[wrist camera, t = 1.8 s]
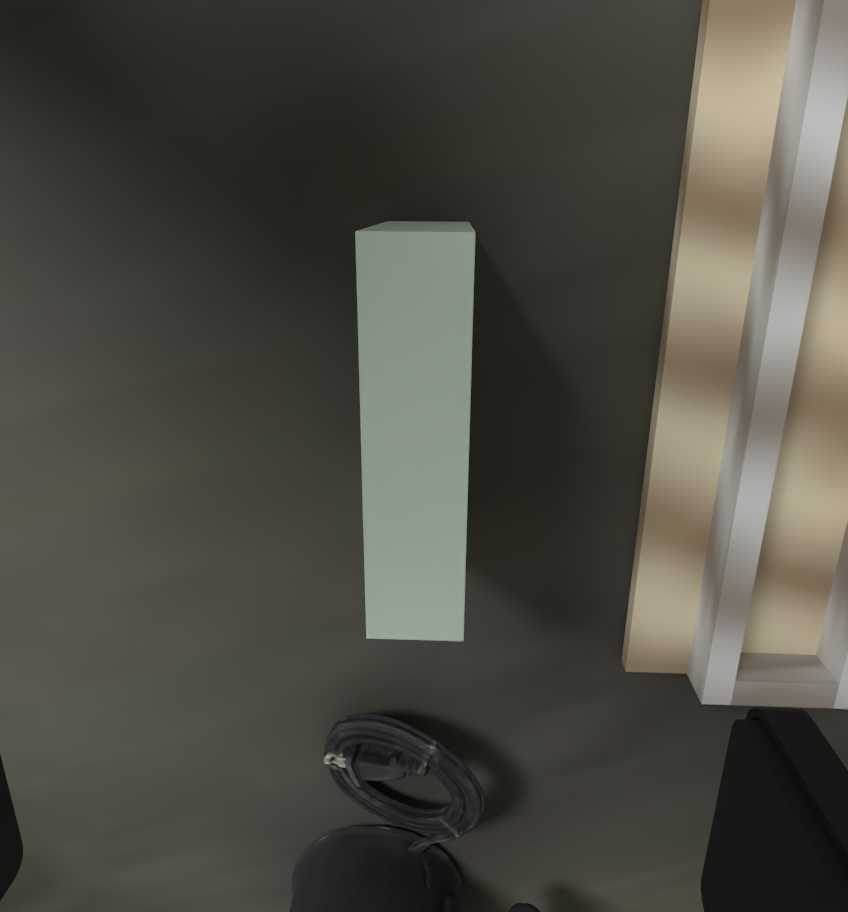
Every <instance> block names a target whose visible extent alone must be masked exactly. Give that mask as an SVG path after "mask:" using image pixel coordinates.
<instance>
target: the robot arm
mask: <svg viewBox="0 0 848 912" xmlns="http://www.w3.org/2000/svg"><path fill="white" fill-rule="evenodd" d="M22 857H23V844H22V840H21V836H20V832H19V828H18V824H17V820H16V816H15V812H14V808H13V804H12V800H11V796H10V792H9V788H8V784H7V780H6V776H5V772H4V768H3V764H2V760H1V755H0V901H1V899H2V898H3V896H4V894H5V893H6V891H7V890H8V888H9V887H10V885H11V884H12V882H13V881H14V879H15V877H16V875H17V873H18V871H19V868H20V865H21V861H22ZM701 894H702V902H703V907H704V911H705V912H848V770H847V769H846V768H845V766H844V765H843V763H842V762H841V760H840V759H839V757H838V756H837V754H836V753H835V751H834V750H833V749H832V747H831V746H830V744H829V743H828V741H827V740H826V738H825V737H824V735H823V734H822V733H821V731H820V730H819V728H818V727H817V725H816V724H815V722H814V721H813V719H812V718H811V717H810V716H809V715H808V714H807V712H805V711H803V710H801V709H783V708H758V707H755V708H751V709H750V711H749V712H748V713H747V717H746V720H743V719H738V720H736V721H735V722H734V723H733V726H732V729H731V734H730V739H729V744H728V749H727V754H726V759H725V764H724V769H723V774H722V779H721V784H720V789H719V794H718V798H717V803H716V808H715V813H714V818H713V823H712V828H711V833H710V838H709V843H708V848H707V853H706V858H705V863H704V868H703V873H702V878H701Z"/></svg>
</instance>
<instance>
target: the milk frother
mask: <svg viewBox="0 0 848 912" xmlns="http://www.w3.org/2000/svg"><path fill="white" fill-rule="evenodd" d="M324 756H325V758H324V763H325V764H326V765H327V766H328V768H329V770H330V774H331V775H332V777H333V779H334V781H335V782H336V783H337V785H338V786H339V788H340V789H341V790H342V791H343V792H344V794H345V795H346V796H348V797H349V798H350V799H351V800H352V801H353V802H355V803H356V804H358V805H360V806H362V807H363V808H364V809H366V810H367V811H368V812H370V813H372V814H374V815H377V816H378V817H380V818H381V819H383V820H386V821H388V822H391V823H393V824H395V825H398V826H400V827H404V828H407V829H410V830H413V831H418V832H423V833H429V834H433V835H431V836H427V837H424V838H423V837H421V836H419V835H417V834H415V833H412V832H409V831H406V830H404V829H399V828H395V827H386V826H382V825H377V826H354V827H348V828H345V829H340V830H337V831H334V832H332V833H329V834H328V835H326V836H324V837H322V838H320V839H318V840H317V841H316V842H314V843H313V844H312V845H311V846H309V847H308V848H307V849H306V850H305V851H304V852H303V854H302V855H301V856H300V858H299V860H298V861H297V864H296V866H295V869H294V873H293V878H292V893H293V898H292V903H291V908H290V912H463V911H462V904H463V885H462V880H461V876H460V875H459V873H458V870H457V868H456V867H455V865H454V864H453V862H452V861H451V859H450V858H449V857H448V856H447V855H446V854H445V853H444V852H443V851H442V850H441V849H440V848H439V847H437V846H435V845H434V844H433V843H438V842H444V841H450V840H452V839H454V838H459V837H460V836H462V835H463V834H466V833H468V832H470V831H471V830H472V829H473V828H474V827H475V826H476V825H477V822H478V820H479V818H480V817H481V815H482V813H483V810H484V795H483V792H482V788H481V786H480V784H479V782H478V780H477V779H476V777H475V776H474V775H473V773H472V772H471V770H470V769H469V768H468V767H467V766H466V765H465V764H464V763H463V762H462V761H461V760H460V759H459V758H458V757H457V756H456V755H455V754H454V753H453V752H451V751H450V750H449V749H448V748H447V747H445V746H444V745H442V744H441V743H439V742H438V741H437V740H435V739H434V738H432V737H431V736H429V735H428V734H426V733H424V732H422V731H421V730H419V729H417V728H415V727H413V726H411V725H409V724H407V723H405V722H402V721H399V720H397V719H394V718H390V717H387V716H383V715H379V714H372V713H368V714H364V713H363V714H355V715H351V716H347V717H345V718H343V719H341V720H339V721H338V722H337V723H336V724H335V725H334V726H333V728H332V729H331V731H330V733H329V735H328V737H327V741H326V745H325V751H324ZM428 772H430V773H432V774H433V775H434V776H436V777H437V778H438V779H439V780H440V781H441V783H442V784H443V785H444V786H445V787H446V788H447V790H448V791H449V793H450V795H451V800H452V802H451V803H450V804H449V805H447V806H445V807H443V808H440V809H420V808H416V807H412V806H409V805H406V804H404V803H401V802H398V801H396V800H394V799H392V798H390V797H388V796H386V795H384V794H383V793H381V792H380V791H378V790H377V789H375V788H374V787H372V786H371V785H370V784H369V783H367V782H366V781H367V780H368V781H383V780H390V779H393V778H397V779H400V778H403V777H405V775H406V774H408V775H419V776H421V777H424V776H426V774H427V773H428ZM509 912H540V911H539V910H538V909H537V908H536V907H535V906H533V905H531V904H528V903H525V904H524V903H518V904H515V905H513V906H512V907H511V909H510V911H509Z"/></svg>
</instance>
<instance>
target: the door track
mask: <svg viewBox="0 0 848 912" xmlns="http://www.w3.org/2000/svg"><path fill="white" fill-rule="evenodd" d="M621 661H622V664H623V666H624V669H625V672H650V673H681V674H687V675H688V677H689V679H690V682H691V684H692V686H693V688H694V690H695V692H696V694H697V696H698V698H699V700H700V702H701V704H714V705H744V706H774V707H803V708H833V709H848V0H703V1H702V9H701V18H700V26H699V34H698V42H697V50H696V58H695V66H694V75H693V83H692V91H691V99H690V107H689V115H688V123H687V132H686V140H685V148H684V156H683V164H682V172H681V180H680V189H679V197H678V205H677V213H676V221H675V229H674V237H673V245H672V254H671V262H670V270H669V278H668V286H667V294H666V302H665V311H664V319H663V327H662V335H661V343H660V351H659V359H658V368H657V376H656V384H655V392H654V400H653V408H652V416H651V424H650V433H649V441H648V449H647V457H646V465H645V473H644V481H643V490H642V498H641V506H640V514H639V522H638V530H637V538H636V547H635V555H634V563H633V571H632V579H631V587H630V595H629V603H628V612H627V620H626V628H625V636H624V644H623V652H622V660H621Z"/></svg>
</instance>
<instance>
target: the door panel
mask: <svg viewBox="0 0 848 912" xmlns="http://www.w3.org/2000/svg"><path fill="white" fill-rule="evenodd" d="M355 240H356V276H357V313H358V350H359V387H360V424H361V460H362V497H363V534H364V571H365V608H366V638H368V639H402V640H436V641H463V638H464V604H465V570H466V536H467V502H468V468H469V434H470V400H471V366H472V333H473V299H474V265H475V231H474V229H473V228H472V226H471V224H470V223H469V222H439V221H387V222H383V223H380V224H377V225H374V226H371V227H367V228H364V229H361V230H358V231H355Z"/></svg>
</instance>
